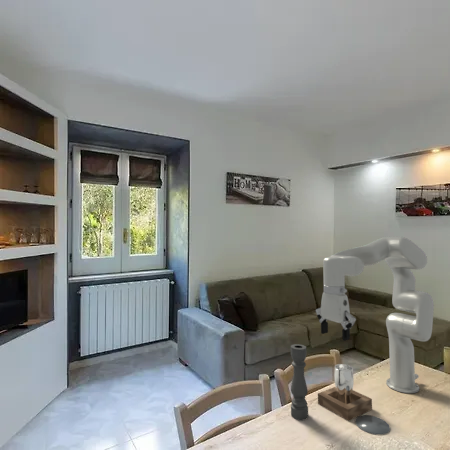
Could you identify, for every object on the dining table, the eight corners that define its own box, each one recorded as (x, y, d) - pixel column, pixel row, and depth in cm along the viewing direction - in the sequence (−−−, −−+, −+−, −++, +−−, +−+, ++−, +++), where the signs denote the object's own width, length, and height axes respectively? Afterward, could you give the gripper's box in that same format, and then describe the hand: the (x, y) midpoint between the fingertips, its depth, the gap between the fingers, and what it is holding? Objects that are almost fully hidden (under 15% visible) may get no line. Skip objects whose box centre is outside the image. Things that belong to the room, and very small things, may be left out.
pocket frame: (341, 394, 133) (341, 384, 133) (372, 409, 121) (371, 398, 121) (317, 403, 126) (317, 393, 126) (348, 421, 114) (348, 409, 114)
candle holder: (308, 412, 120) (307, 344, 121) (307, 421, 114) (306, 350, 115) (292, 409, 122) (291, 343, 123) (289, 418, 116) (288, 348, 117)
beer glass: (355, 412, 119) (354, 371, 120) (336, 410, 121) (335, 370, 121) (352, 402, 126) (351, 364, 127) (333, 401, 128) (333, 363, 128)
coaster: (367, 412, 119) (367, 411, 119) (396, 427, 110) (396, 426, 110) (348, 422, 113) (348, 421, 113) (377, 438, 104) (377, 437, 104)
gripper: (360, 292, 114) (361, 340, 114) (322, 286, 129) (323, 329, 128) (347, 294, 110) (348, 344, 110) (309, 288, 125) (310, 332, 124)
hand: (334, 336), depth 119 cm, fingers open, 9 cm apart
